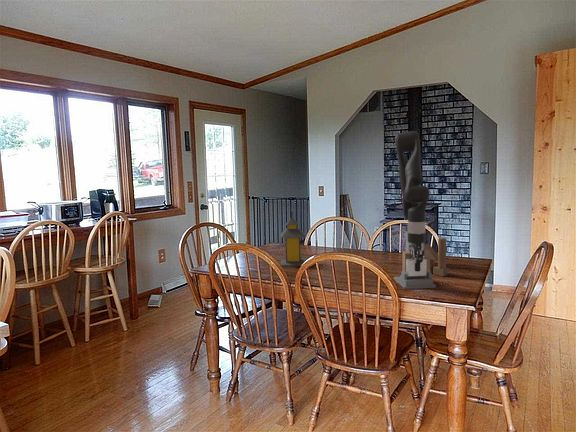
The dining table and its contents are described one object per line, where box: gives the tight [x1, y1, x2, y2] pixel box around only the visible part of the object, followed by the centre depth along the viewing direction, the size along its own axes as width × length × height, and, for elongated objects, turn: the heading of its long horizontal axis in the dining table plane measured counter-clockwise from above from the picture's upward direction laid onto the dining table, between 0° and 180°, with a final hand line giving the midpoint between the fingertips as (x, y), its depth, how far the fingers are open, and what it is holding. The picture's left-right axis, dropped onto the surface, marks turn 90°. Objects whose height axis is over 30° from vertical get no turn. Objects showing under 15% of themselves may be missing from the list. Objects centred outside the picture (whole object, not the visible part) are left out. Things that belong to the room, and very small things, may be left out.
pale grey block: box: [406, 257, 427, 276], centre depth 196 cm, size 4×8×7 cm, turn 91°
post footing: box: [393, 250, 437, 290], centre depth 200 cm, size 17×14×13 cm
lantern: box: [279, 209, 307, 267], centre depth 245 cm, size 14×14×30 cm
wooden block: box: [423, 237, 449, 277], centre depth 214 cm, size 4×11×18 cm, turn 37°
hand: (416, 269), depth 196 cm, fingers closed on pale grey block, 3 cm apart
